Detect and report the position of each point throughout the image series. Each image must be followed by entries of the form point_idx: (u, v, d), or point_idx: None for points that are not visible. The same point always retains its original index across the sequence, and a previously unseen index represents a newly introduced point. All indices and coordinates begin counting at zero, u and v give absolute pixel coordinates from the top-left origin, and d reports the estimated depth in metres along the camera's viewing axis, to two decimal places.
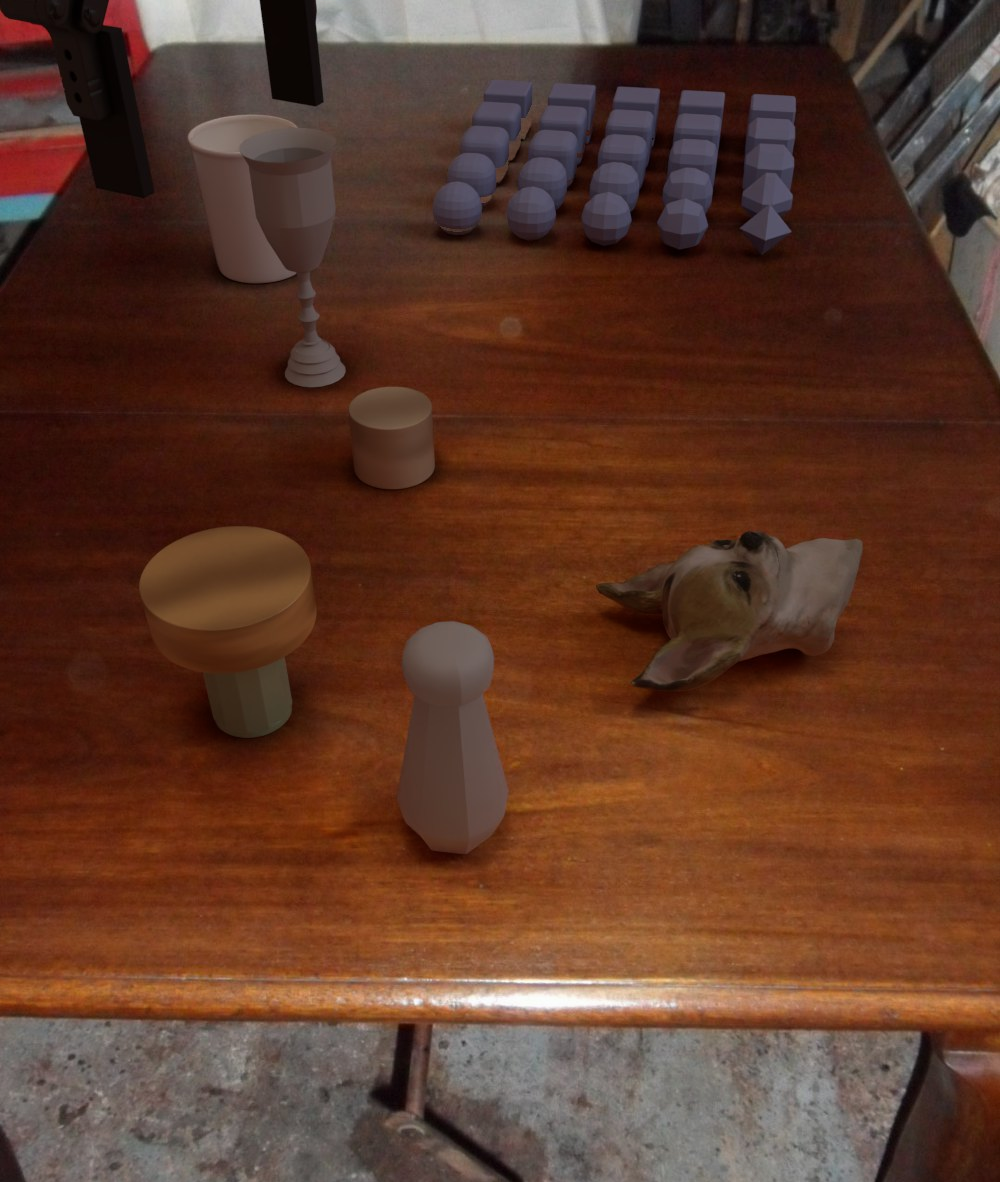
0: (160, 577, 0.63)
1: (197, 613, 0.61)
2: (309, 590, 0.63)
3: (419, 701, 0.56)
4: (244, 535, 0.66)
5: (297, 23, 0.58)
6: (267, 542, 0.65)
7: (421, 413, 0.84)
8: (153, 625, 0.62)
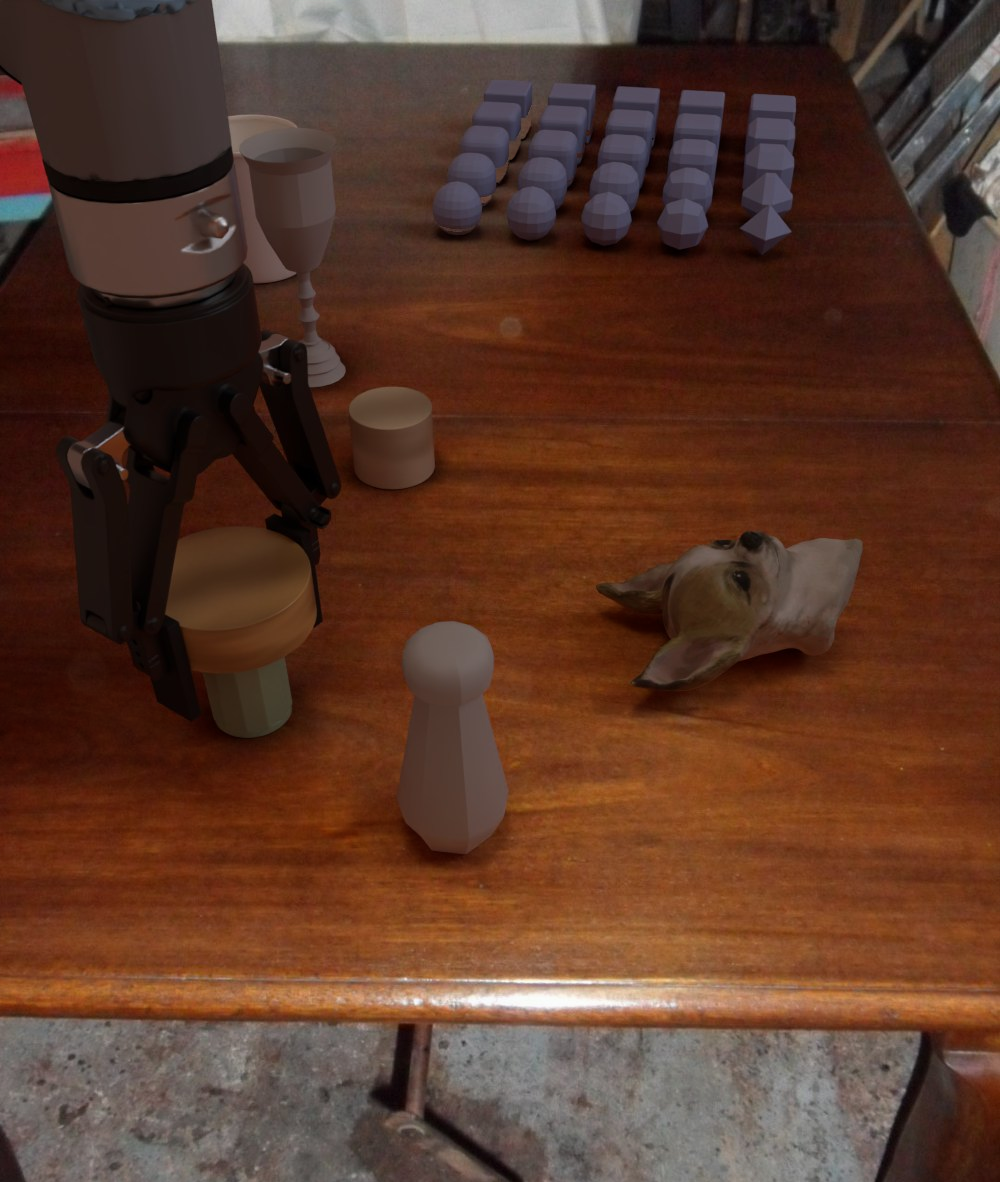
0: None
1: (197, 612, 0.61)
2: (309, 590, 0.63)
3: (419, 701, 0.56)
4: (244, 535, 0.66)
5: None
6: (267, 542, 0.65)
7: (421, 413, 0.84)
8: None
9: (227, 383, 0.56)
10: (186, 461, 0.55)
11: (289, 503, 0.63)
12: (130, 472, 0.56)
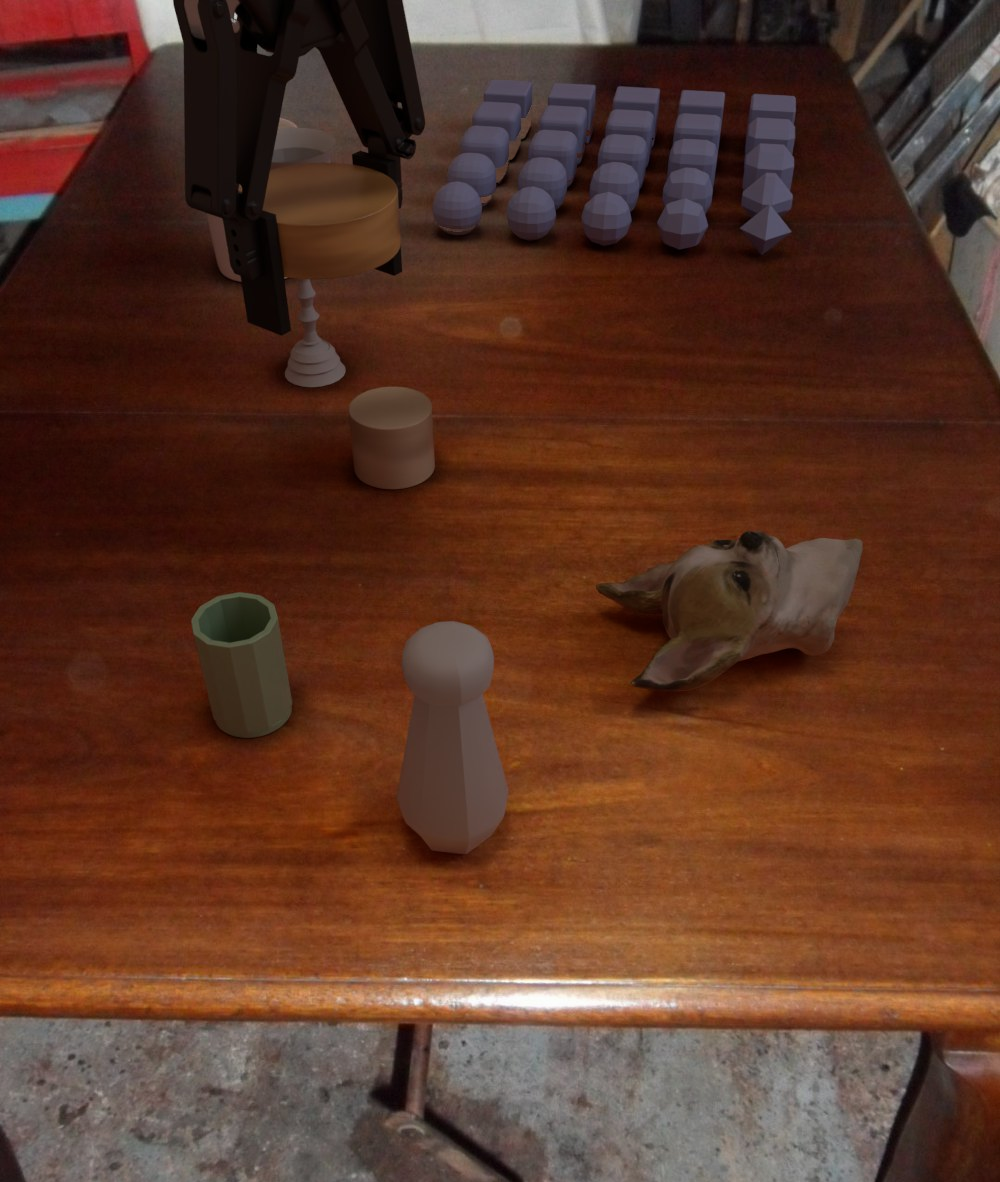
0: None
1: (292, 214, 0.64)
2: (396, 207, 0.66)
3: (419, 701, 0.56)
4: (332, 168, 0.68)
5: None
6: (354, 172, 0.68)
7: (421, 413, 0.84)
8: None
9: None
10: (291, 30, 0.58)
11: (377, 126, 0.66)
12: None
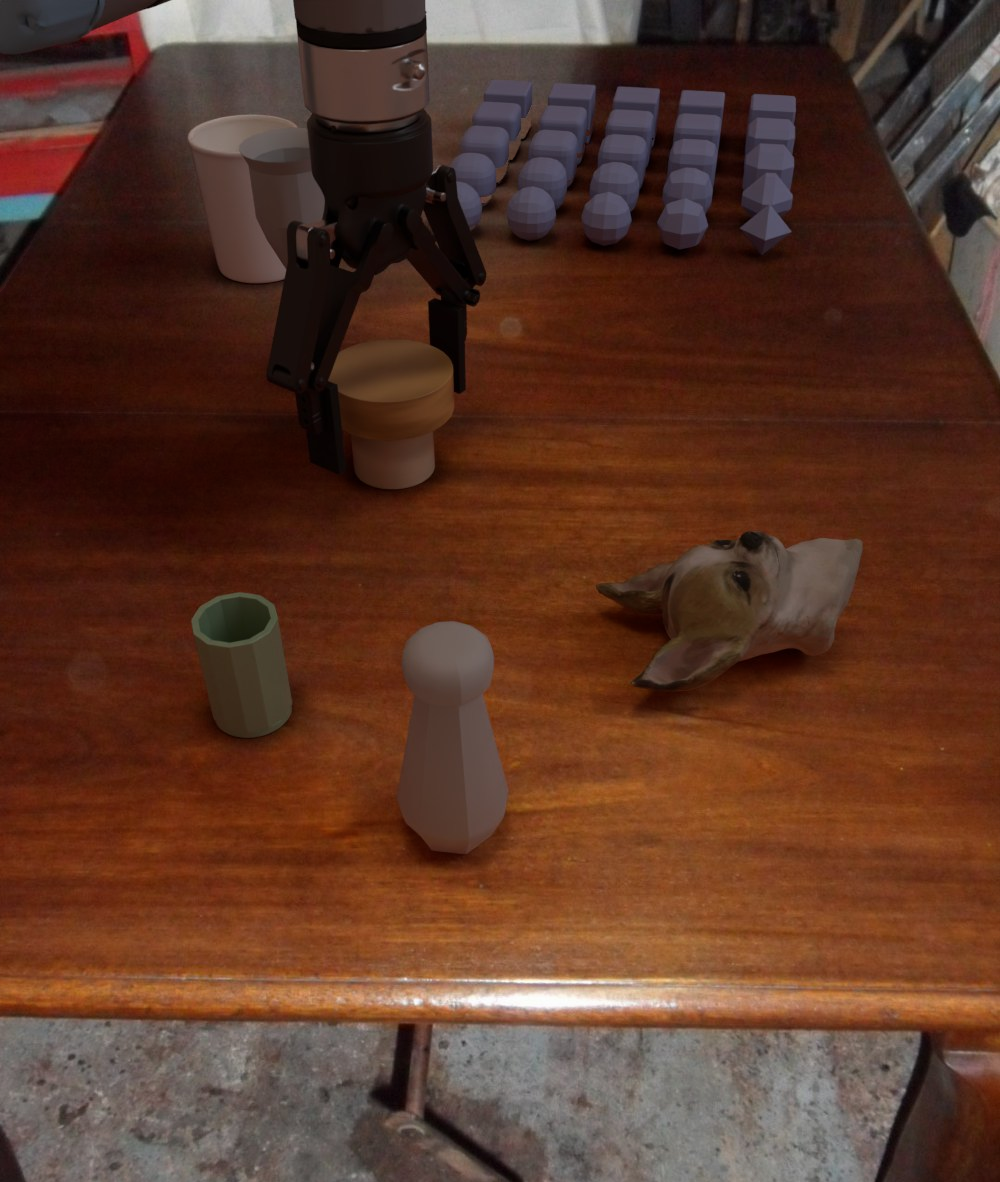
0: (339, 370, 0.83)
1: (372, 391, 0.81)
2: (452, 380, 0.83)
3: (419, 701, 0.56)
4: (398, 344, 0.85)
5: (452, 345, 0.87)
6: (416, 349, 0.85)
7: None
8: None
9: (404, 203, 0.76)
10: (372, 255, 0.74)
11: (449, 289, 0.84)
12: None
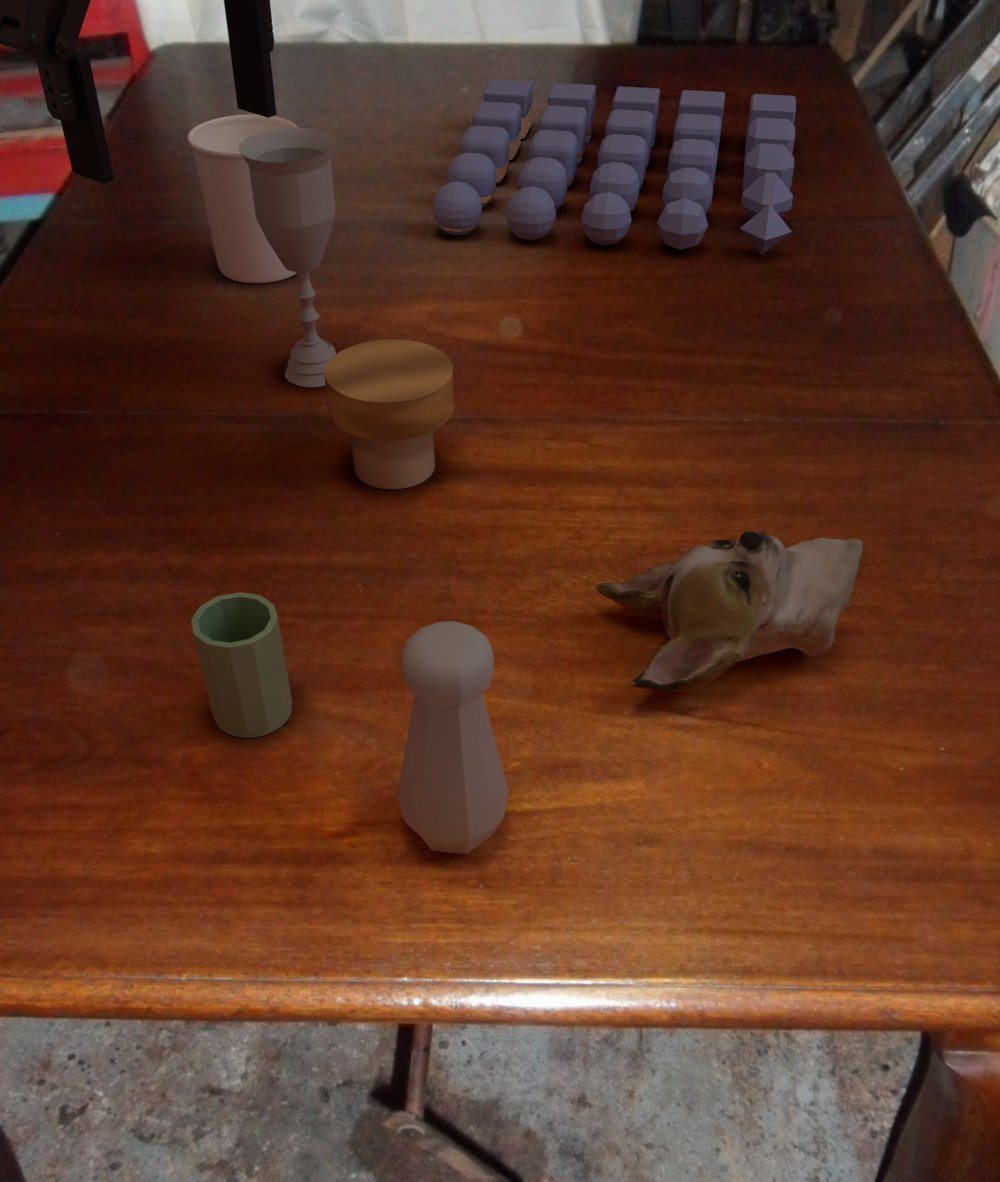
0: (339, 370, 0.83)
1: (372, 391, 0.81)
2: (452, 380, 0.83)
3: (419, 701, 0.56)
4: (398, 344, 0.85)
5: (254, 51, 0.73)
6: (416, 349, 0.85)
7: None
8: (337, 403, 0.82)
9: None
10: None
11: None
12: None
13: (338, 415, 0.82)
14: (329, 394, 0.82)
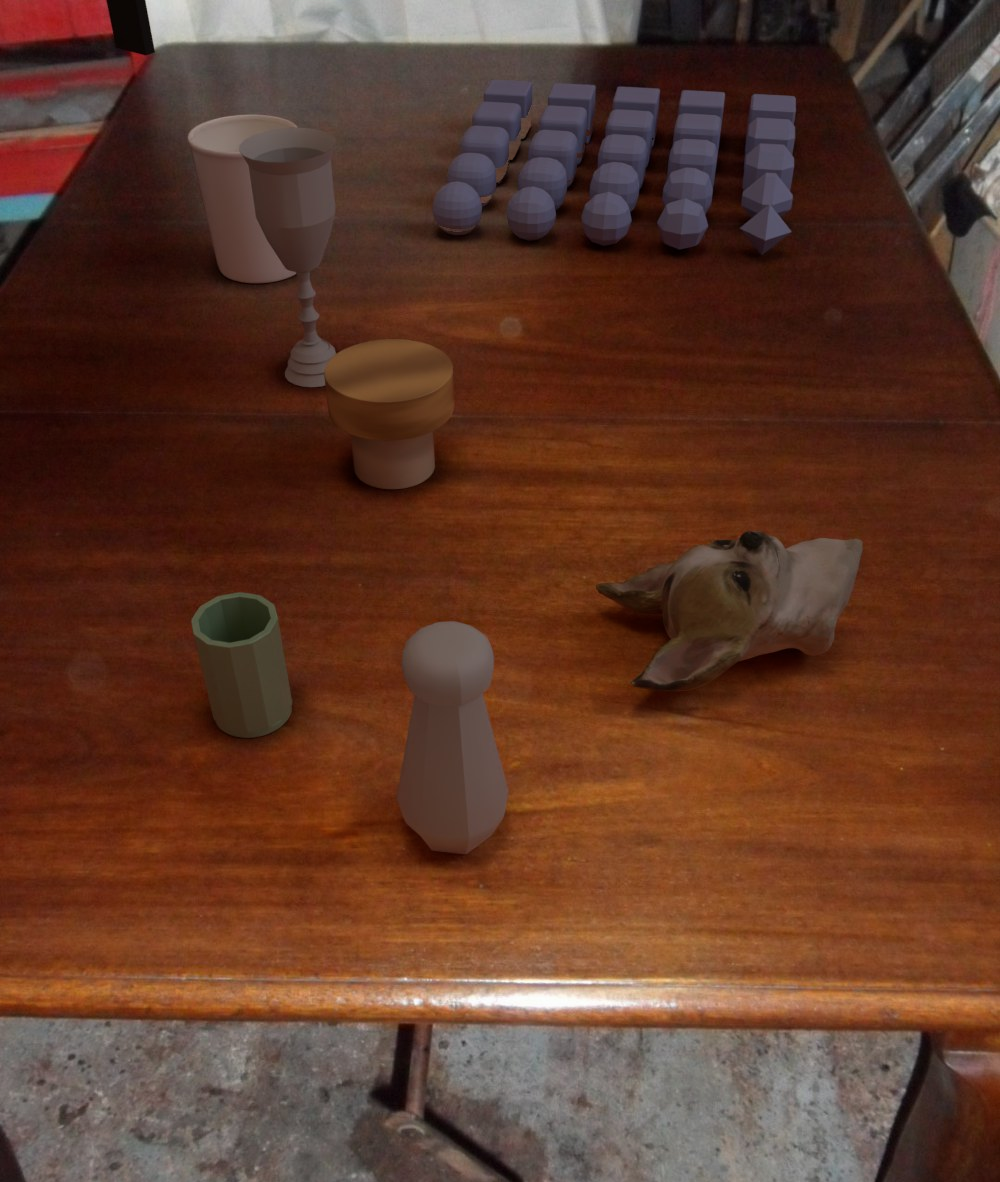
0: (339, 370, 0.83)
1: (372, 391, 0.81)
2: (452, 380, 0.83)
3: (419, 701, 0.56)
4: (398, 344, 0.85)
5: None
6: (416, 349, 0.85)
7: None
8: (337, 403, 0.82)
9: None
10: None
11: None
12: None
13: (338, 415, 0.82)
14: (329, 394, 0.82)
